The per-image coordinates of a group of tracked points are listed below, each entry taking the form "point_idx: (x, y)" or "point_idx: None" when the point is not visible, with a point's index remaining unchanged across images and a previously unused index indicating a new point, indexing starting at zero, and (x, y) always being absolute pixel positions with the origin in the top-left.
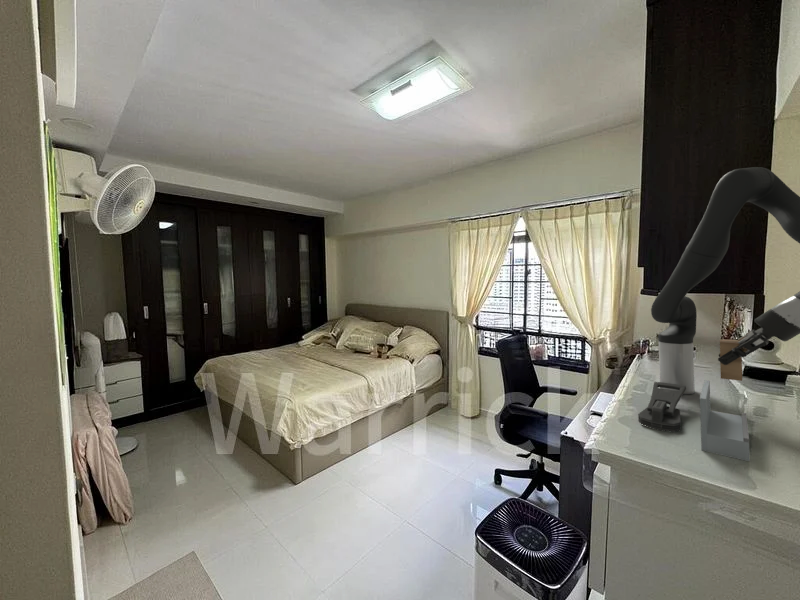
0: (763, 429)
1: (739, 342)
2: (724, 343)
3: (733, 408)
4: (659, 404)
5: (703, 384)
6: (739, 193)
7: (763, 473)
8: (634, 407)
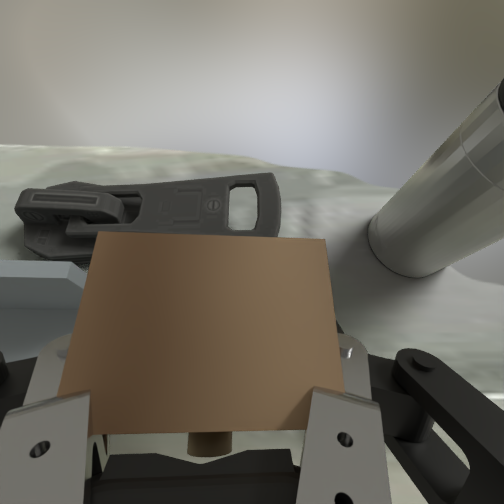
0: (170, 434)
1: (8, 414)
2: (95, 271)
3: None
4: (60, 198)
5: None
6: None
7: None
8: (184, 178)
